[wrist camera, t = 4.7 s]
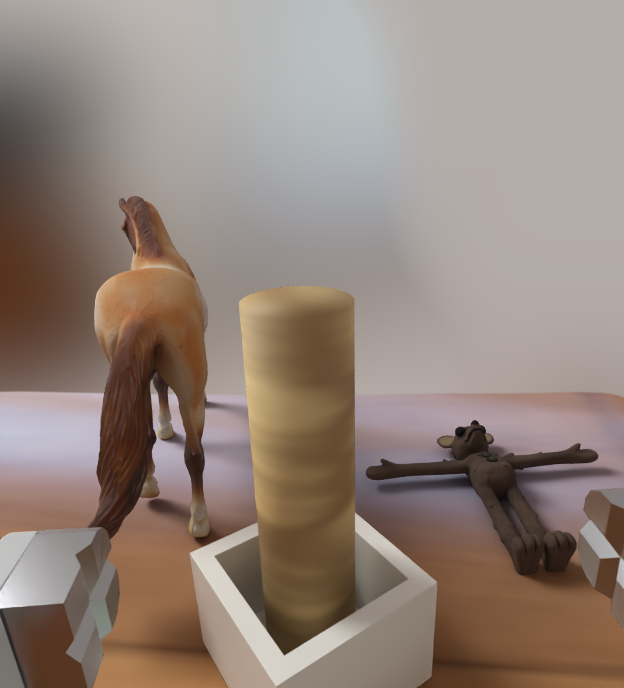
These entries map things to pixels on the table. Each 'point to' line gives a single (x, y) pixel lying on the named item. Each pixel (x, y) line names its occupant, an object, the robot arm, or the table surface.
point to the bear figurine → (500, 492)
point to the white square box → (334, 643)
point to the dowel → (302, 455)
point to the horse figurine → (149, 369)
